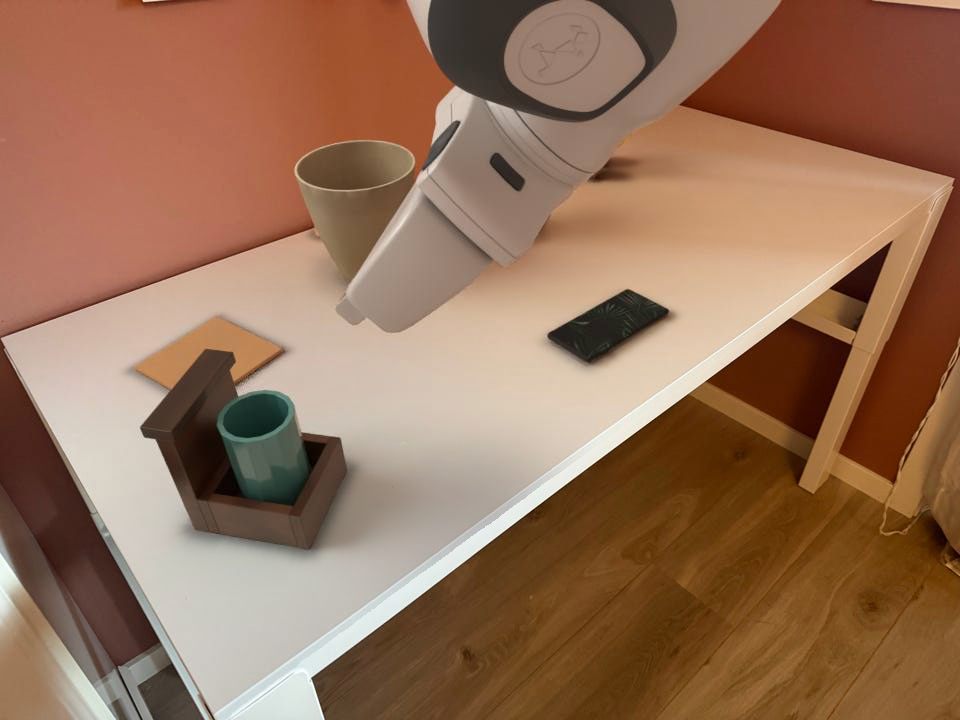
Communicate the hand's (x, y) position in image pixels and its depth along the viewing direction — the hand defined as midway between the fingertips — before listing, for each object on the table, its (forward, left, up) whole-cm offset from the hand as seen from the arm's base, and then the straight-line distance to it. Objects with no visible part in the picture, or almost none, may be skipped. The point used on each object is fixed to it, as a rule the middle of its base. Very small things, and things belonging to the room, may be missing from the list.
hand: (371, 272), depth 49 cm
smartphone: (+36, -2, -26) cm, 45 cm away
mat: (+5, +34, -26) cm, 44 cm away
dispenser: (-5, +12, -26) cm, 30 cm away
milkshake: (+35, +44, -27) cm, 62 cm away
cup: (-5, +11, -26) cm, 29 cm away
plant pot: (+30, +31, -27) cm, 51 cm away
